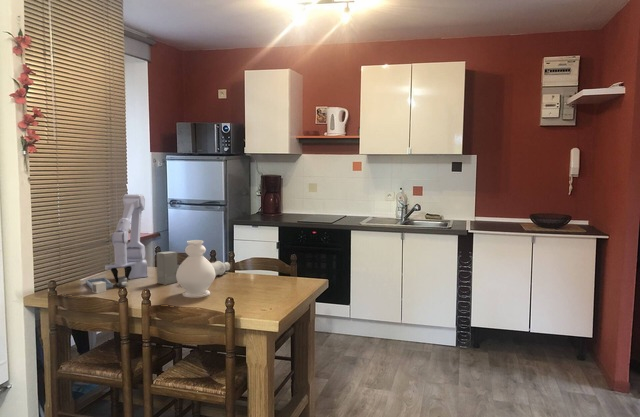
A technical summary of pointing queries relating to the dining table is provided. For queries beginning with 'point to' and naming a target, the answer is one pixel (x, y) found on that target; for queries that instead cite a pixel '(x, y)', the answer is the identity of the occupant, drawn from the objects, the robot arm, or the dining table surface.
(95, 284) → the block
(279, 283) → the dining table surface
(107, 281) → the tray
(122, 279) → the plug
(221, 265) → the bottle
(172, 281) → the skincare box
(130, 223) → the robot arm
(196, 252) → the decorative vase
